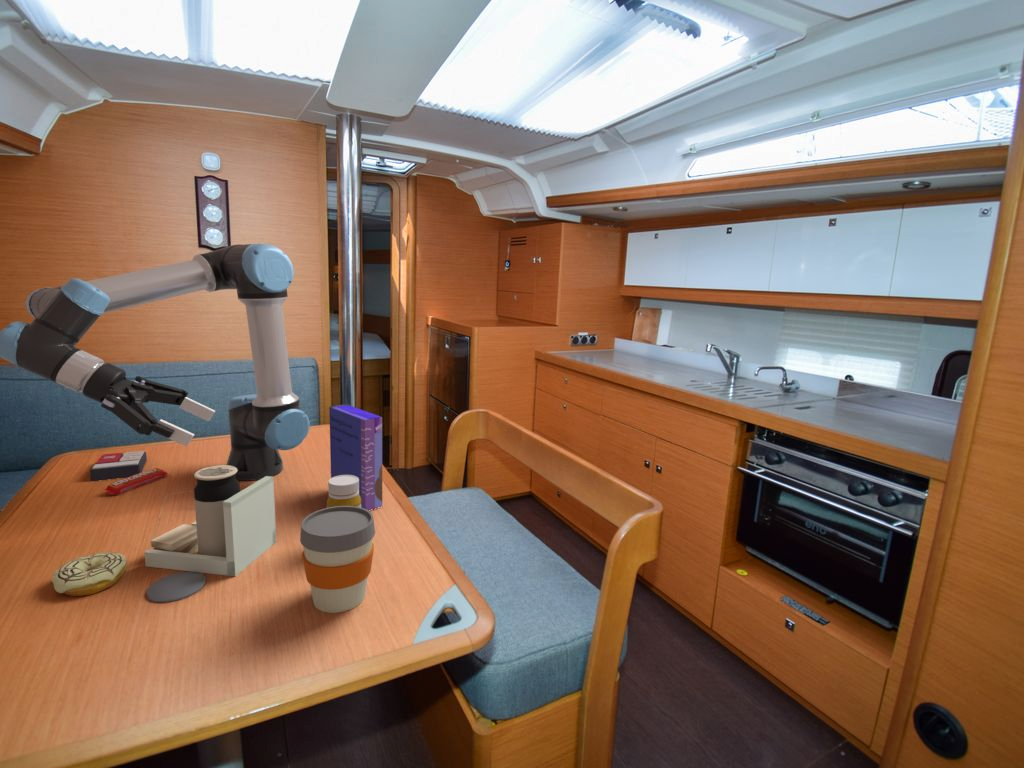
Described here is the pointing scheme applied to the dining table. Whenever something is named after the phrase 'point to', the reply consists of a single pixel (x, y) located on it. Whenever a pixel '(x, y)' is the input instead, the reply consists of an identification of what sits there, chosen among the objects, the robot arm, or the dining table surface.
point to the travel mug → (213, 507)
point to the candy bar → (135, 481)
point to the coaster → (176, 587)
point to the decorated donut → (89, 574)
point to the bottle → (344, 491)
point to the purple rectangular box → (357, 450)
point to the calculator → (118, 465)
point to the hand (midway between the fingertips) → (202, 427)
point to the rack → (231, 535)
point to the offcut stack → (178, 540)
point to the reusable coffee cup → (338, 556)
